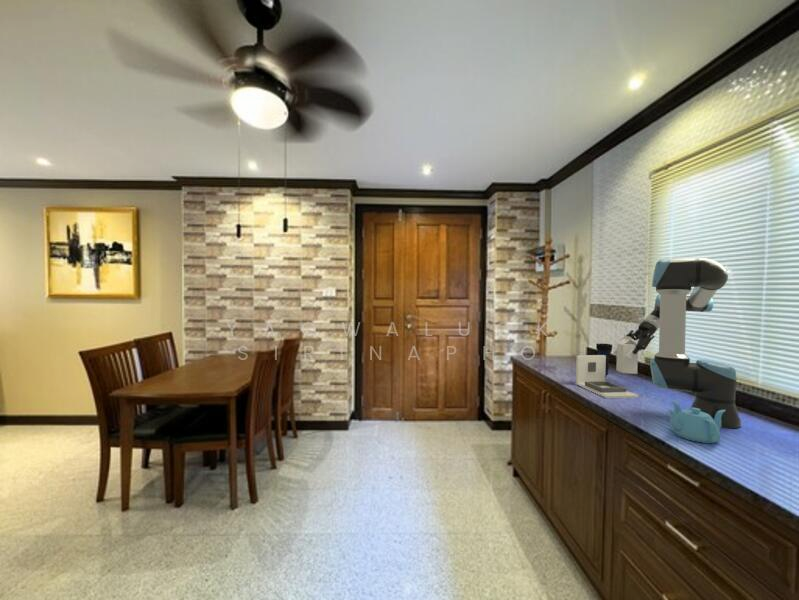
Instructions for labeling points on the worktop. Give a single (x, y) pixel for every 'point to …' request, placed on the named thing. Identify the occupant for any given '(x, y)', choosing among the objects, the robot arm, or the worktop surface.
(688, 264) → the robot arm
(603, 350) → the flashlight
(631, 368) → the milk carton
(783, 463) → the worktop surface
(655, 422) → the worktop surface
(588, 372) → the dock
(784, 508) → the worktop surface
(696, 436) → the teapot
